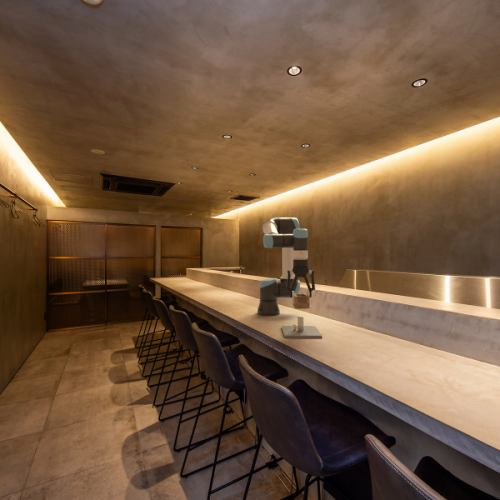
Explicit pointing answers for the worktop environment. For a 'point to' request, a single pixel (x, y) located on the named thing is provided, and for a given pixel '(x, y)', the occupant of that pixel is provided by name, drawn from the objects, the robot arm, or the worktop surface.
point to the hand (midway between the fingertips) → (300, 303)
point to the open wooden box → (301, 301)
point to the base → (299, 333)
